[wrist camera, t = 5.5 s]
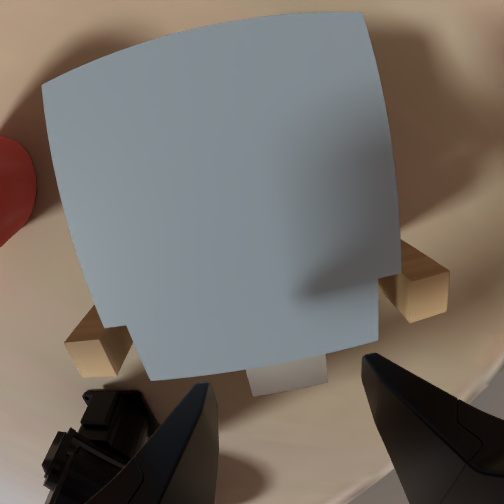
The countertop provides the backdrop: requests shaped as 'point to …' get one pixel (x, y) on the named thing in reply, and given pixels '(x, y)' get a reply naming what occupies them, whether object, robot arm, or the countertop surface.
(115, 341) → the frame
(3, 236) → the flower pot
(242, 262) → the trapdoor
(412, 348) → the countertop surface
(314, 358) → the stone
